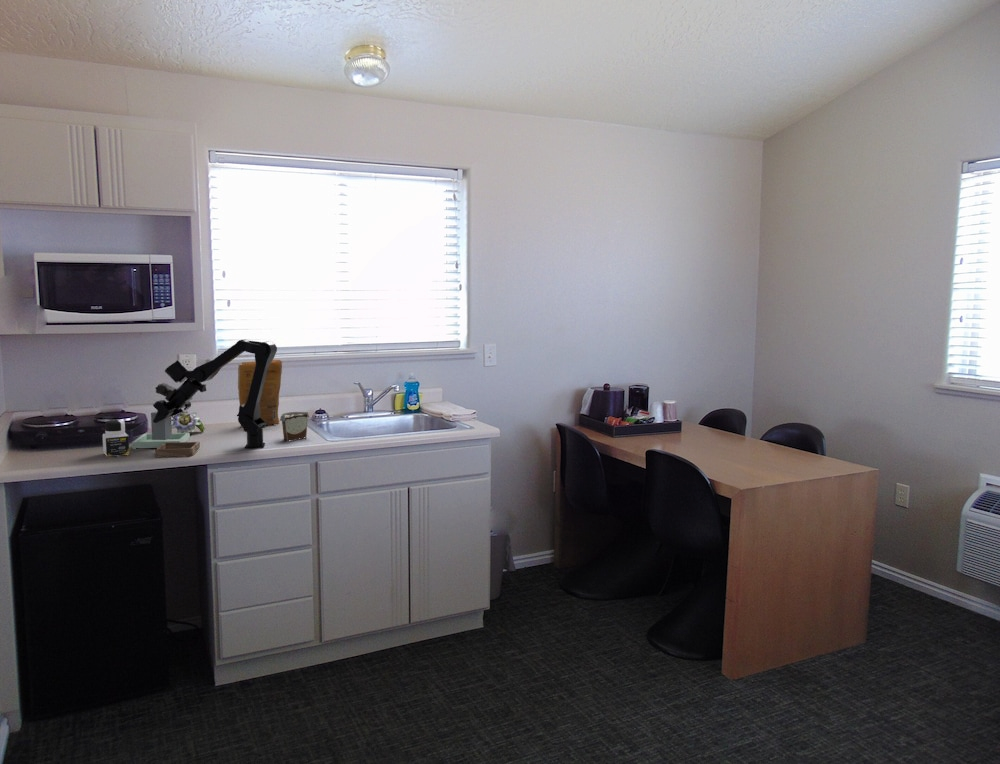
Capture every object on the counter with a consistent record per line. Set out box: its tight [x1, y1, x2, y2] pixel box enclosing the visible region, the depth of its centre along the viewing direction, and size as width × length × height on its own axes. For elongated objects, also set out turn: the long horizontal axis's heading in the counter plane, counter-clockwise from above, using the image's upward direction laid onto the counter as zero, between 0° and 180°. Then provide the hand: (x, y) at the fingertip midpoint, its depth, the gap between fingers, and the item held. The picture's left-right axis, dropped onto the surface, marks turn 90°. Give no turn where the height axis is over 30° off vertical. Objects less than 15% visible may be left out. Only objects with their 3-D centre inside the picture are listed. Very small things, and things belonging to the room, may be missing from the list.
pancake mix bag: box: [237, 359, 283, 427], centre depth 310 cm, size 7×19×28 cm, turn 124°
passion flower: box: [171, 409, 206, 433], centre depth 292 cm, size 11×11×12 cm
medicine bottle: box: [102, 419, 130, 457], centre depth 253 cm, size 7×7×12 cm
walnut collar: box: [154, 441, 201, 457], centre depth 258 cm, size 12×12×2 cm
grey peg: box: [150, 410, 173, 440], centre depth 271 cm, size 5×5×10 cm
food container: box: [279, 411, 310, 442], centre depth 285 cm, size 12×6×10 cm, turn 146°
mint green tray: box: [131, 432, 191, 450], centre depth 271 cm, size 16×16×3 cm
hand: (157, 420), depth 270 cm, fingers closed on grey peg, 5 cm apart
